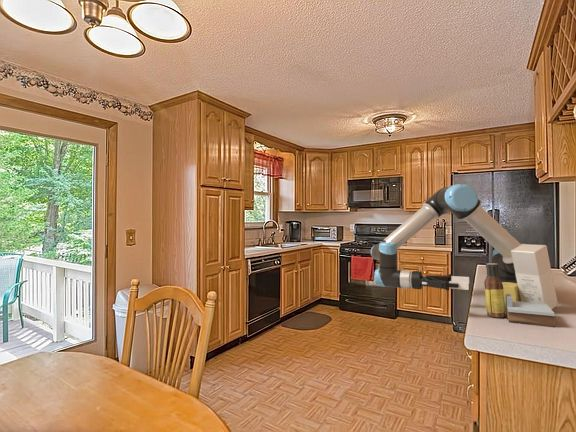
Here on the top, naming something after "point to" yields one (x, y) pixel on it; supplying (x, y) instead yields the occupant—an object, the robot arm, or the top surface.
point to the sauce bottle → (494, 292)
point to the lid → (527, 307)
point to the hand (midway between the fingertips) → (469, 283)
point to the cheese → (511, 290)
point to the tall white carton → (534, 274)
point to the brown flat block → (530, 319)
